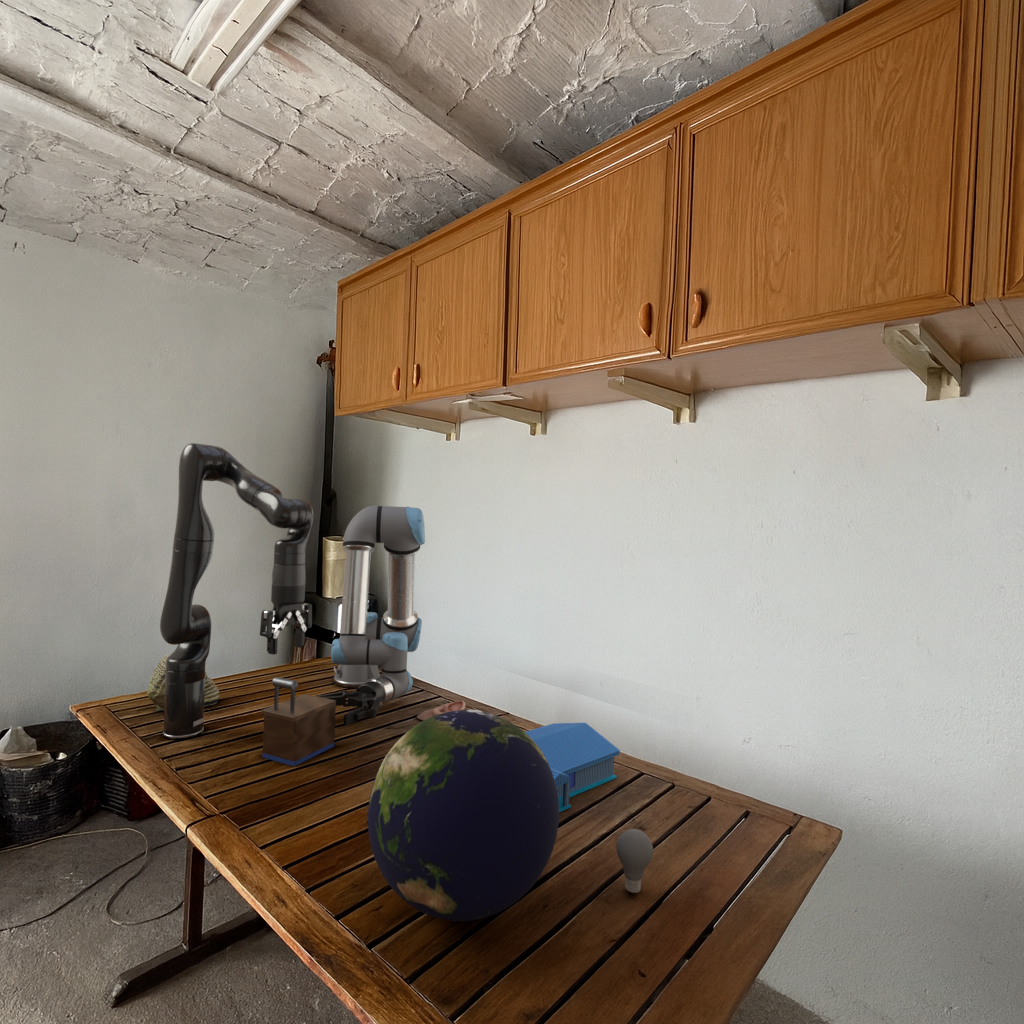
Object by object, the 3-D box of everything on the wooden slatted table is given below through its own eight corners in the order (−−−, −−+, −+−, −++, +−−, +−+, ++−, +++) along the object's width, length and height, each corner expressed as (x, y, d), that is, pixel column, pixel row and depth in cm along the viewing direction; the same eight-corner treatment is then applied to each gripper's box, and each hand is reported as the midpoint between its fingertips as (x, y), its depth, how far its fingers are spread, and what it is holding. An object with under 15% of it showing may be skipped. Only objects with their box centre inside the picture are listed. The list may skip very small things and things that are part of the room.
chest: (294, 766, 148) (296, 720, 148) (262, 757, 152) (263, 713, 152) (334, 746, 161) (335, 704, 160) (303, 738, 165) (305, 697, 165)
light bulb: (610, 879, 108) (613, 822, 108) (644, 879, 109) (647, 822, 109) (619, 902, 102) (622, 840, 102) (655, 901, 103) (658, 840, 103)
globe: (322, 932, 92) (330, 728, 92) (425, 835, 120) (432, 678, 119) (512, 1001, 81) (522, 769, 81) (577, 877, 109) (585, 703, 108)
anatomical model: (413, 707, 181) (426, 695, 192) (412, 720, 181) (426, 708, 192) (457, 712, 178) (468, 699, 189) (457, 726, 178) (468, 713, 189)
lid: (293, 721, 147) (294, 684, 147) (261, 713, 151) (262, 677, 151) (335, 704, 160) (337, 670, 160) (305, 697, 165) (306, 664, 165)
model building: (501, 837, 120) (504, 785, 120) (427, 790, 139) (429, 744, 138) (628, 782, 147) (630, 739, 147) (552, 748, 165) (553, 710, 165)
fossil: (144, 707, 182) (145, 655, 182) (212, 696, 194) (213, 647, 194) (151, 716, 175) (153, 662, 175) (221, 703, 188) (223, 653, 188)
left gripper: (277, 587, 142) (275, 659, 143) (321, 581, 155) (319, 646, 156) (253, 584, 146) (250, 654, 146) (298, 578, 159) (295, 642, 159)
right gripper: (410, 714, 177) (362, 739, 158) (338, 699, 187) (286, 720, 168) (411, 687, 177) (363, 709, 158) (339, 674, 187) (287, 692, 168)
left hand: (286, 650), depth 151 cm, fingers open, 8 cm apart
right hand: (323, 715), depth 163 cm, fingers open, 13 cm apart
